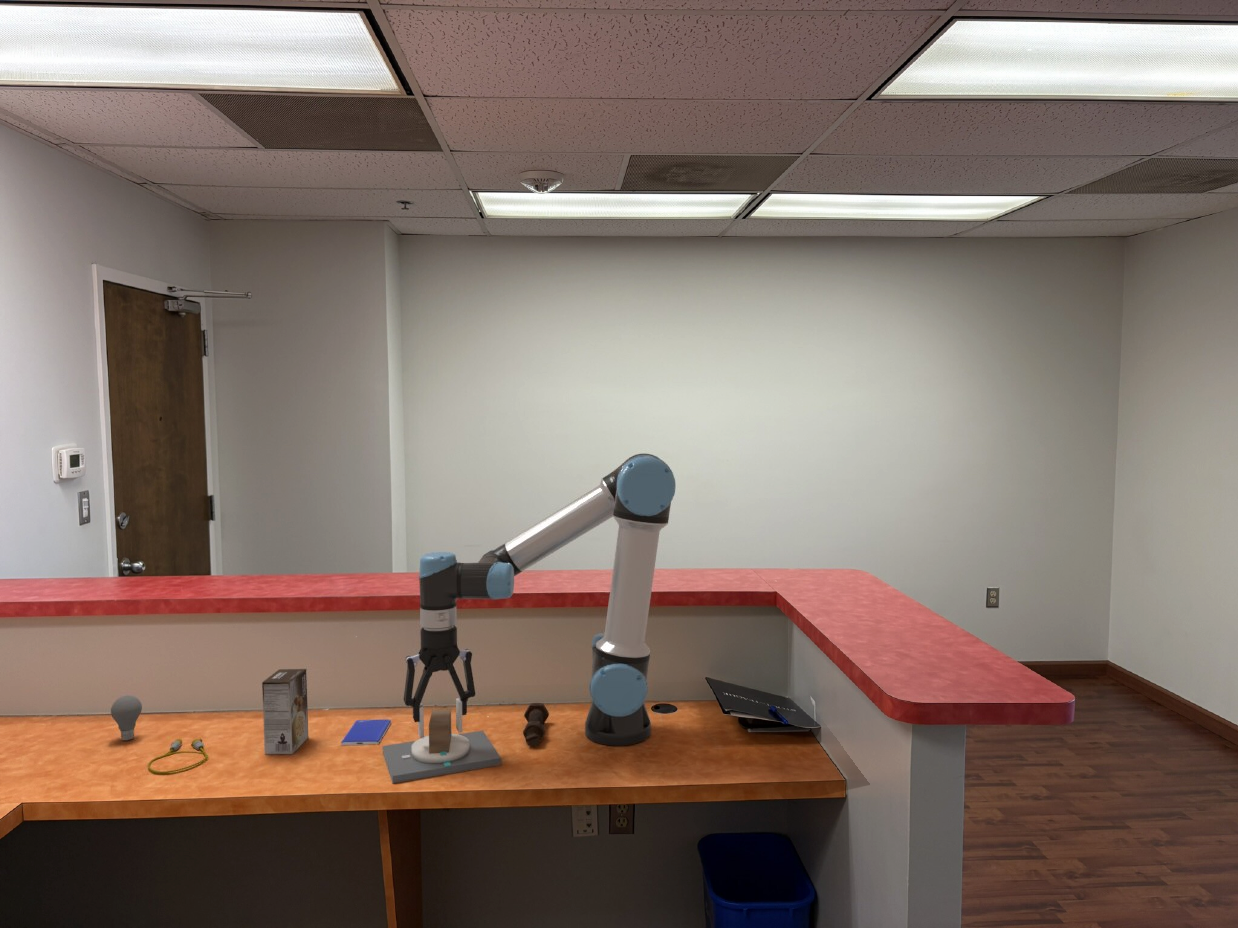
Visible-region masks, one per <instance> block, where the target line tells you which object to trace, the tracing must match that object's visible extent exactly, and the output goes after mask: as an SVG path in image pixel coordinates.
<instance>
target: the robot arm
mask: <svg viewBox="0 0 1238 928" xmlns="http://www.w3.org/2000/svg"><path fill="white" fill-rule="evenodd" d="M600 479H601V480H600V482H599V485H598V486H595V487H594V488H593V489H591V490H589V491H587V492H586V493H584V494H583V495H581V496H580V497H578V498H576V499H574V500H573V501H571V502H569V503H568V504H566V505H565V506H563V507H561V508H560V509H558V510H556V511H555V512H553V513H552V514H550V515H548V516H547V517H545V518H543V519H541V520H540V521H539V522H537V523H535V524H533V525H532V526H531V527H529V528H527V529H526V530H523V531H522V532H521V533H519V534H517V535H516V536H515V537H512V538H510V539H509V540H507V541H506V542H505V543H504V544H502V545H499V546H498V547H497V548H495V549H491V550H489V551H488V552H486V553H485V554H483V555H482V556H481V557H480V559H479V561H478V562H460V561H459V562H458V560H457V557H456V554H455V553H453V552H446V551H434V552H429V553H425V554H423V555H422V556H421V558H420V559H419V575H418V581H419V600H420V601H419V602H420V603H419V606H420V607H419V610H420V611H419V612H420V613H419V615H420V616H419V620H420V622H419V624H420V626H421V628H420V632H419V633H420V649H419V651H418V654H416V655H415V654H414V655H412V656H410V655H406V657H405V662H406V666H407V668H406V669H407V670H406V676H405V686H404V693H403V703H404V705H405V706H406V707H409V706H410V707H411V708H412V718H413V721H414V723H418V724H417V727H418V729H417V734H418V736H419V739H421V738H424V737H425V718H424V717H425V716H424V715H425V713H424V712H425V711H424V709H425V708H424V705H423V704H422V701H423V698H424V695H425V692H426V689H427V687H428V684H429V682H430V679H431V678H432V675H433V673H436V672H439V671H443V672H445V671H448V674H449V676H450V678H451V680H452V682H453V684H454V688H455V689H456V691H457V694H458V698H455V718H456V719H455V723H456V725H455V726H456V727H455V728H456V730H457V731H458V734H461V733H463V716H466V715H467V713H468V710H467V709H468V704H467V703H468V700H469V699H470V698H474V697H475V696H476V690H475V689H476V688H475V681H474V677H473V675H474V674H473V669H472V657H473V652H472V651H471V650H470V649H468V648H466V649H459V646H458V627H457V626H456V625H457V622H458V619H457V617H458V616H457V614H458V613H457V600H458V599H459V600H466V599H467V600H470V599H471V600H495V601H496V600H500V599H510V598H511V597H512V596H513V594H514V590H515V577H516V576H517V575H519V574H521V573H522V572H524V571H525V570H527V569H529V568H530V567H532V566H534V565H536V564H537V563H538V562H540V561H542V560H543V559H545V558H547V557H549V556H550V555H551V554H554V553H555V552H557V551H558V550H560V549H562V548H563V547H564V546H565V547H566V545H569V544H570V543H571V542H573V541H575V540H577V539H578V538H579V537H581V536H583V535H584V534H586V533H588V532H590V531H591V530H593V529H594V528H597V527H598V526H600V525H601V524H604V522H606V521H608V520H609V519H611V518H613V519H614V520H615V521H616V522H617V524H618V531H617V537H616V544H615V553H614V560H613V569H612V575H611V581H610V582H611V584H610V591H609V597H608V604H607V605H608V606H607V612H606V613H607V614H606V621H605V627H604V628H605V629H604V632H603V633H602V632H601V633H597V634H595V635H594V636H593V638H592V643H591V649H592V656H591V657H592V658H591V659H592V662H591V676H590V677H591V678H590V683H589V694H590V697H591V699H592V700H591V703H590V707H589V710H588V713H587V716H586V719H585V722H584V723H585V724H584V734H585V737H587V739H589V740H590V741H592V742H593V743H596V744H601V745H605V746H614V747H615V746H617V747H618V746H621V747H622V746H631V745H635V744H640V743H642V742H644V741H646V740H647V739H649V738H650V737H651V735H652V722H651V719H650V717H649V713H648V710H647V706H646V703H645V701H646V698H647V695H648V691H649V687H648V672H649V665H650V657H651V649H650V648H649V646H648V645H647V643H646V642H645V640H646V636H647V635H646V633H647V628H648V627H647V626H648V619H649V612H650V605H651V596H652V592H653V591H652V589H653V582H654V575H655V567H656V561H657V553H658V544H659V537H660V532H661V531H662V530H663V528H665V527H666V526H667V525H668V524H669V518H670V512H671V506H672V505H671V504H672V501H673V500H674V496H675V493H676V478H675V476H674V472H673V471H672V469H671V467H670V466H669V465H668V464H667V463H666V462H665V461H664V460H662V459H661V458H659V457H658V456H656V455H653V454H650V453H637V454H634V455H632V456H630V457H629V458H627V459H626V460H625V461H624V462H623V463H621V464H620V465H619V466H618V467H616V468H615V469H614V470H613V471H611V472H610V473H608V474H607V475H605V476H603V477H602V478H600ZM459 656H460V659H461V661H462V664H463V671H464V676H465V677H464V678H465V685H466V689H467V690H465V689H464V686H463V685H462V683H461V680H460V678H459V675H458V673H457V670H456V668H455V667H454V664H455V662H456V660H457V659H458V657H459ZM419 661H421V663H422V664H423V665H424V667H423V670H422V673H421V676H420V679H419V682H418V685H417V688H416V689H415V693H414V695H413V690H414V682H415V674H416V668H415V667H418V663H419Z"/></svg>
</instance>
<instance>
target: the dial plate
mask: <svg viewBox="0 0 1238 928" xmlns="http://www.w3.org/2000/svg"><path fill="white" fill-rule="evenodd" d="M457 734H458V735H462V736H464V737H466V738H467V739H468V740H469V752H468V753H467V754H466V755H465V756H464V757H462V758H460V759H457V760H454V761H451V762H445V763H424V762H420V761H417V760H415V759H414V758H413V757H412V744H413V743H414V742H415V741H416V740H412V741H406V742H405V741H404V742H400V743H393V744H387V745H382V755H383V758H384V761H385V764H386V767H387V770H388V774H389V777H390V779H391V783H392V784H397V783H405V782H409V781H416V780H420V779H421V780H422V779H427V778H433V777H437V776H438V777H439V776H444V775H449V774H455V773H460V772H466V771H473V770H479V769H484V768H491V767H497V766H500V765H502V757H501V755H500V754H499V752H498V751H497V750H496V748H495V746H494V744H493V743H492V742H491V740H490V739H489V737H488V736H487V735H486V733H485V731H484V730H478V731H471V732H470V731H469V732H464V733H463V732H462V733H457Z"/></svg>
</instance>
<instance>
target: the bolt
mask: <svg viewBox="0 0 1238 928" xmlns="http://www.w3.org/2000/svg"><path fill="white" fill-rule="evenodd" d="M523 714H524V715H523V717H524V718H525V720H526V721H527V723H526V725H525V727H524V728H523V731H522V734H523V737H524V738H525V743H526V745H527V746H529V747H537V746H538V745H539V744H540V743H541V741H542V739H543V737H544V736H545V734H546V729H545V728H544V724H545V723H546V721H547V720H548V718H549V716H550V712H549V710H548V709H547V707H546V706H545V704H544V703H542V702H532V703H530V704H529V705H528V707H527V709H525V712H524V713H523Z"/></svg>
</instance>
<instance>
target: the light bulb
mask: <svg viewBox="0 0 1238 928" xmlns="http://www.w3.org/2000/svg"><path fill="white" fill-rule="evenodd" d="M142 710H143V704H142V702H141V700H140V699H139V698H137V696H134V695H130V694H129V695H128V694H127V695H123V696H120V697H118V698H117V699H115V701H114V702H113V703H112V705H111V708H110V714H111V717H112V719H113V720H114V722H116V724H117V726H118V730H120V740H122V741H130V740H131V739H134V737H135V727H136V726H137V723H136V722H137V720H138V718H139V717H140V715H141V713H142Z"/></svg>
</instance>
